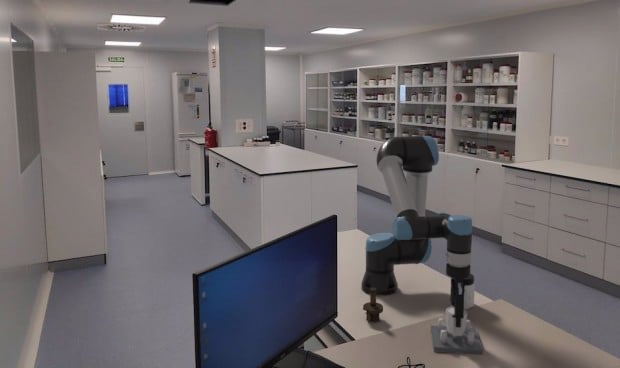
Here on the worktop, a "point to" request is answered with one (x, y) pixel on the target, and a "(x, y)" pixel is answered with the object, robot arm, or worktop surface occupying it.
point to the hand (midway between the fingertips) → (455, 329)
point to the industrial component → (373, 307)
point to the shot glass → (450, 320)
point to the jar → (468, 292)
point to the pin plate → (455, 339)
